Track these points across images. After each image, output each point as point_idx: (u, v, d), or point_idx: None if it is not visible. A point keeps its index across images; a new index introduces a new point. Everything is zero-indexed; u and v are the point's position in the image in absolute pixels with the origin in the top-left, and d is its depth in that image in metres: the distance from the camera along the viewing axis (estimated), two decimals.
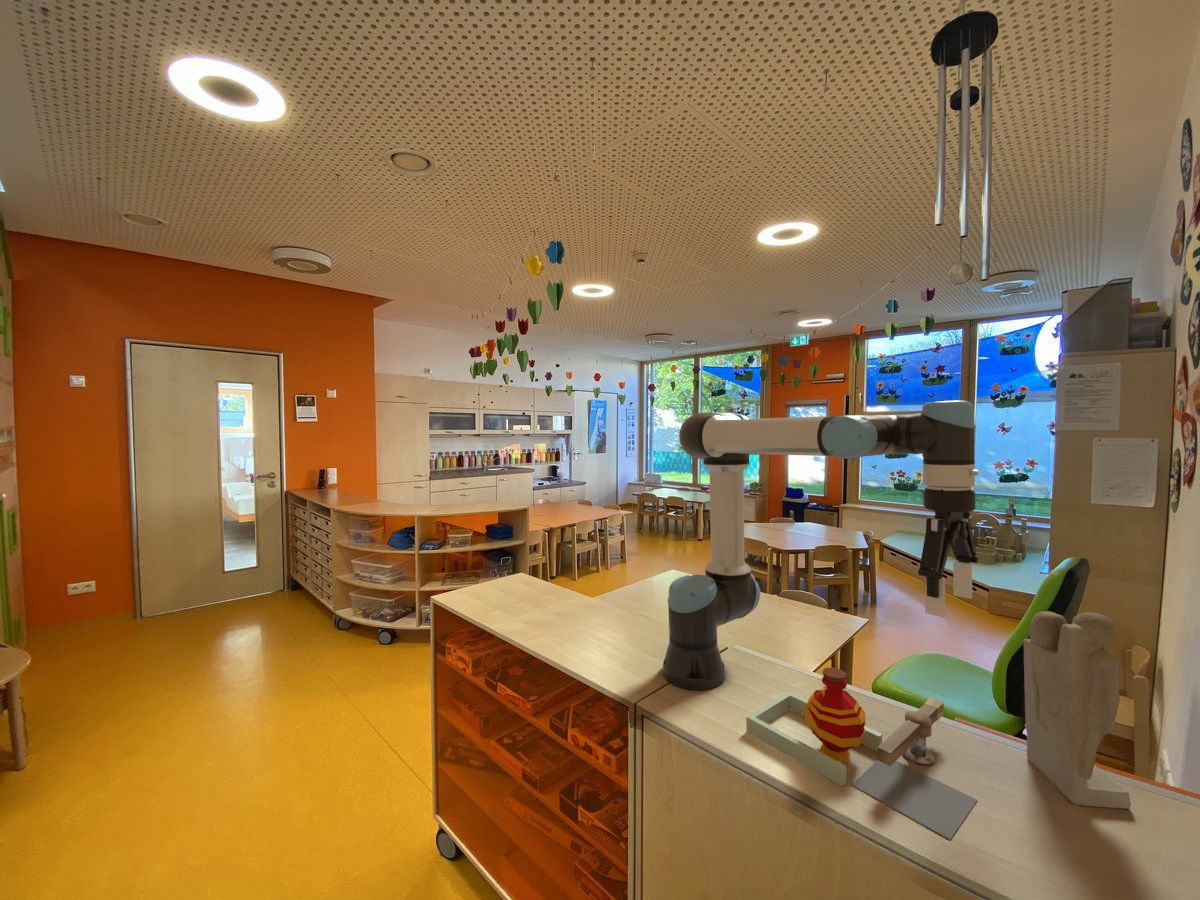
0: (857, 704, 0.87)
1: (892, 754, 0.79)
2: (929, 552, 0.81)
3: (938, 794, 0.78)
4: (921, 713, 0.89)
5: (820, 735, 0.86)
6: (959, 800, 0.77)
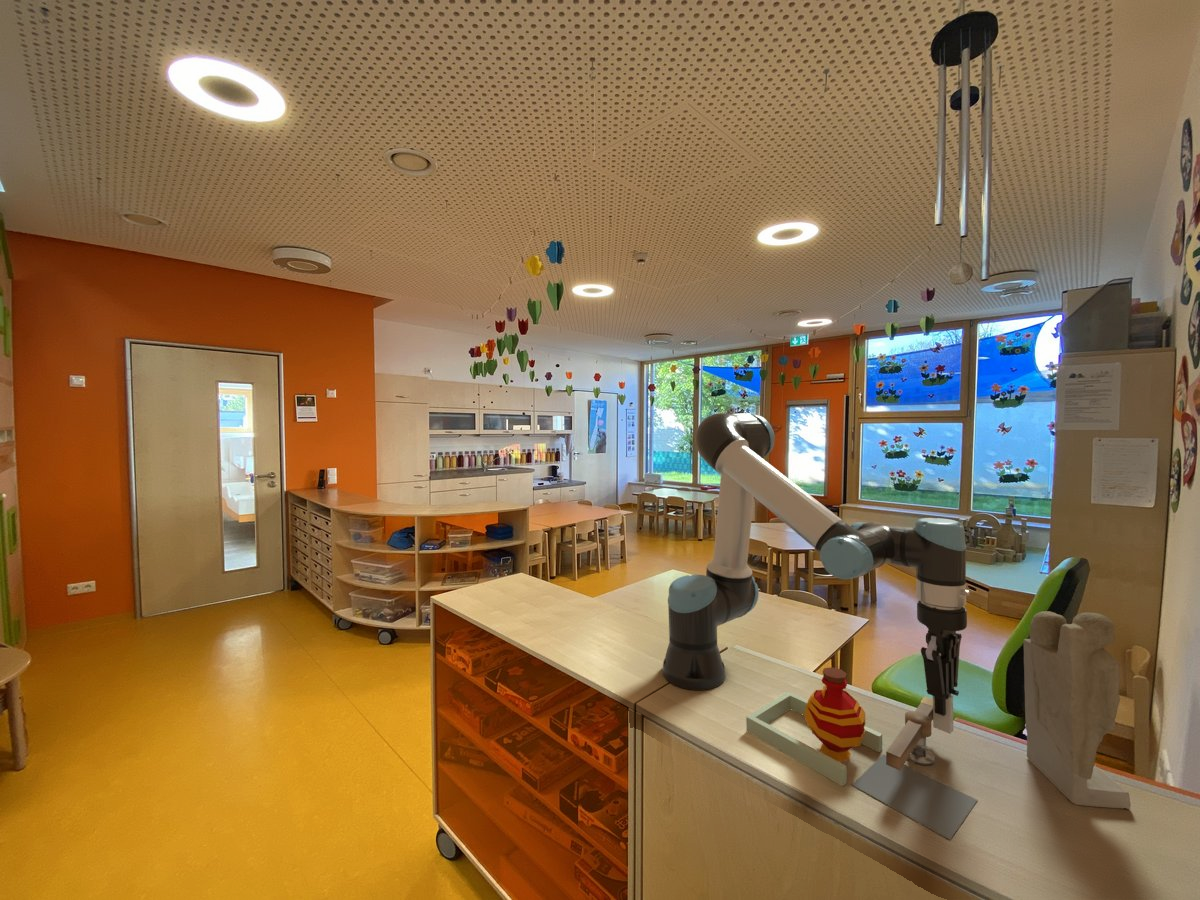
0: (857, 704, 0.87)
1: (901, 758, 0.78)
2: (932, 678, 0.87)
3: (938, 794, 0.78)
4: (920, 713, 0.89)
5: (820, 735, 0.86)
6: (959, 800, 0.77)
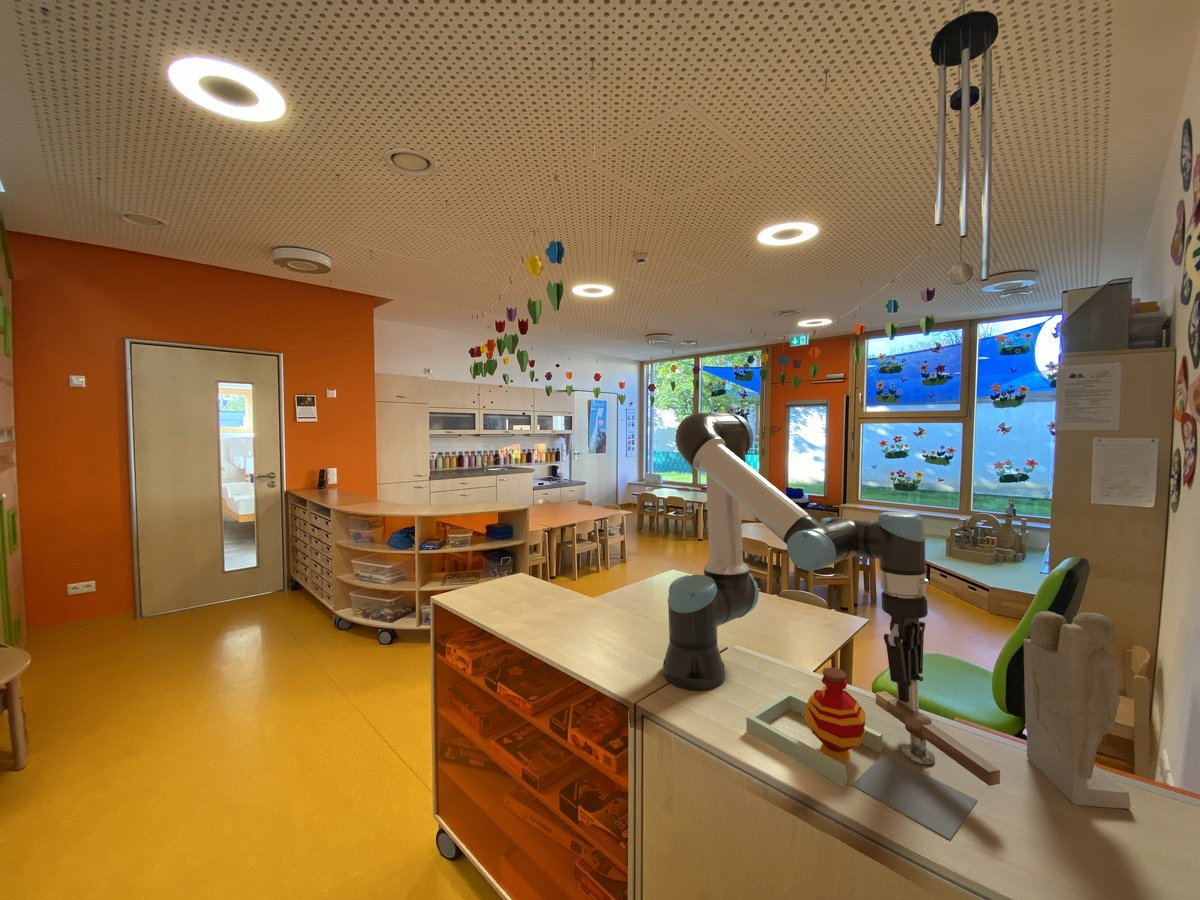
0: (857, 704, 0.87)
1: None
2: (894, 665, 0.90)
3: (938, 794, 0.78)
4: (908, 711, 0.89)
5: (820, 735, 0.86)
6: (959, 800, 0.77)
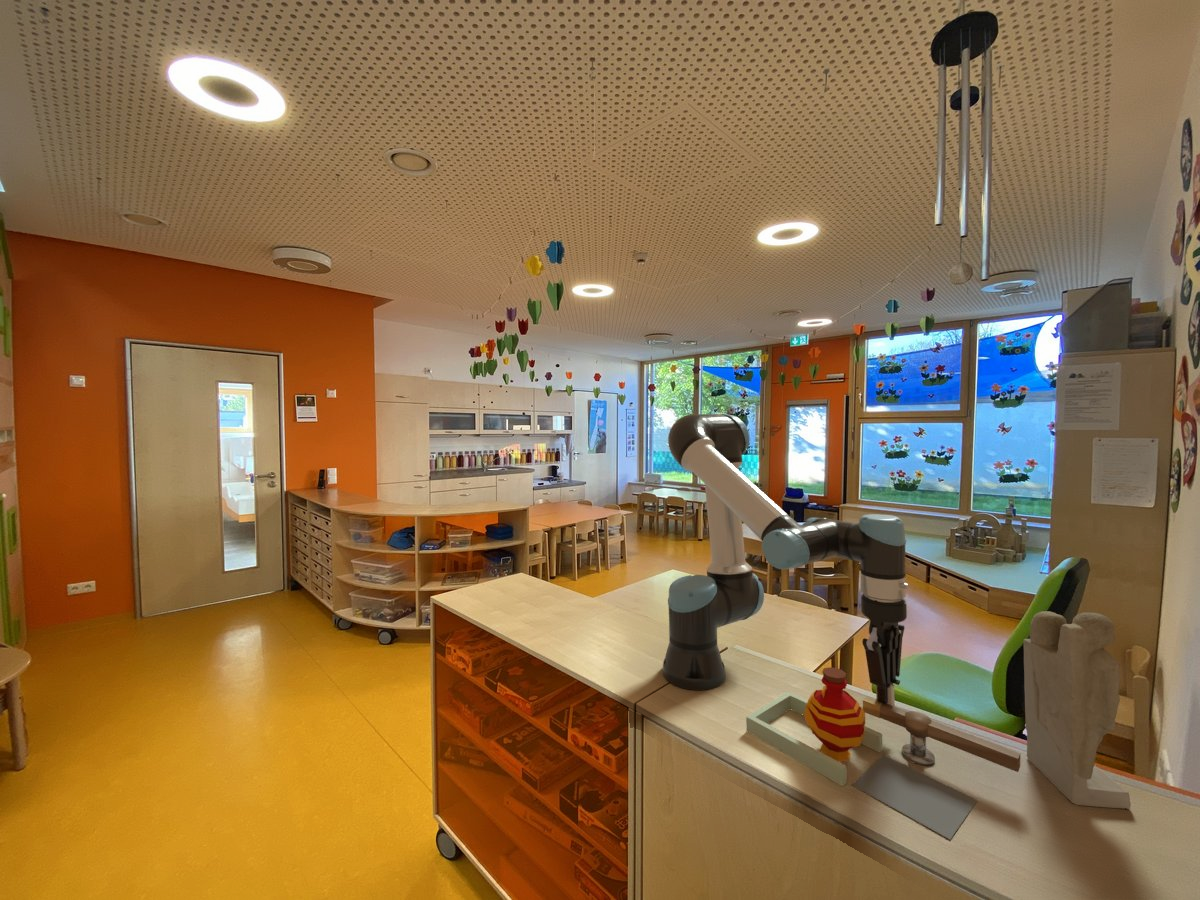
0: (857, 704, 0.87)
1: None
2: (873, 668, 0.90)
3: (938, 794, 0.78)
4: (906, 713, 0.89)
5: (820, 735, 0.86)
6: (959, 800, 0.77)
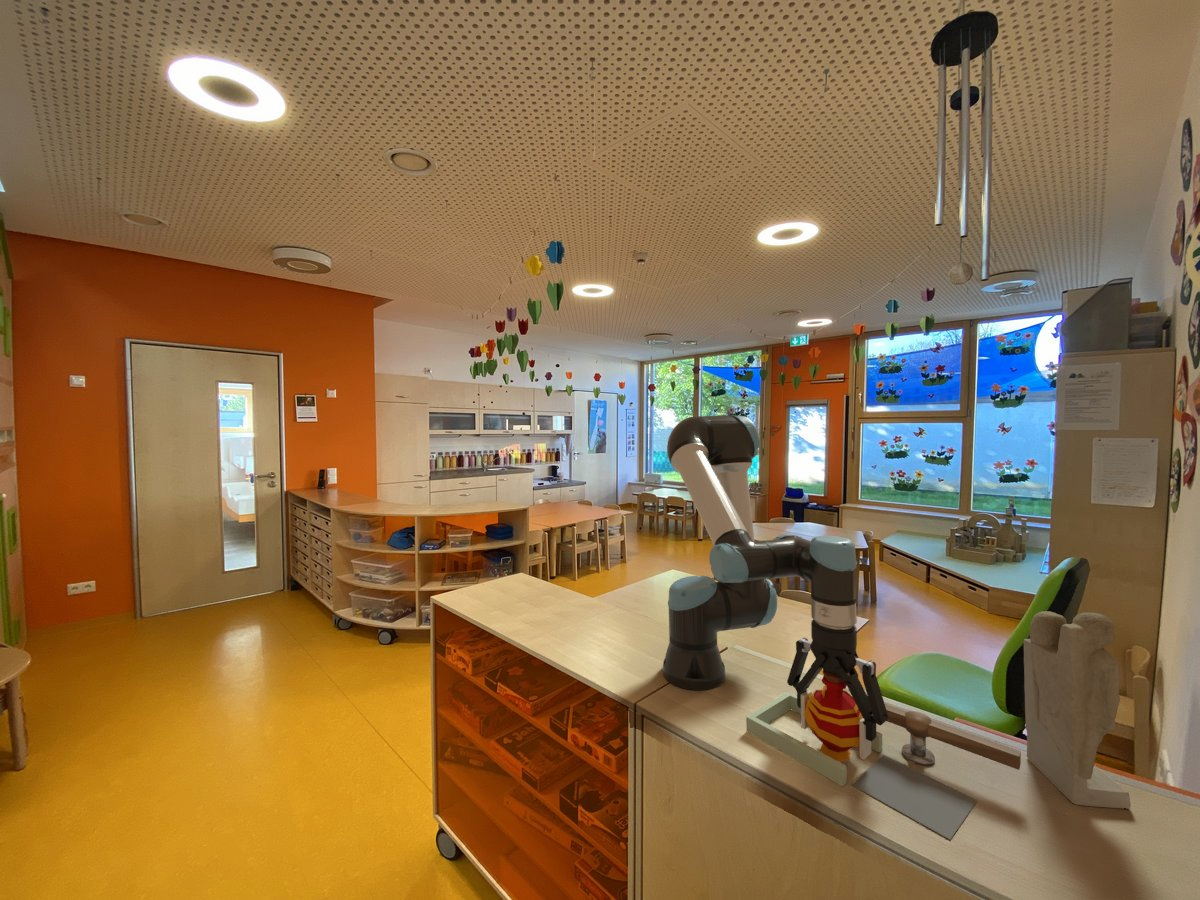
0: None
1: None
2: None
3: (938, 794, 0.78)
4: (905, 713, 0.89)
5: (820, 735, 0.86)
6: (959, 800, 0.77)
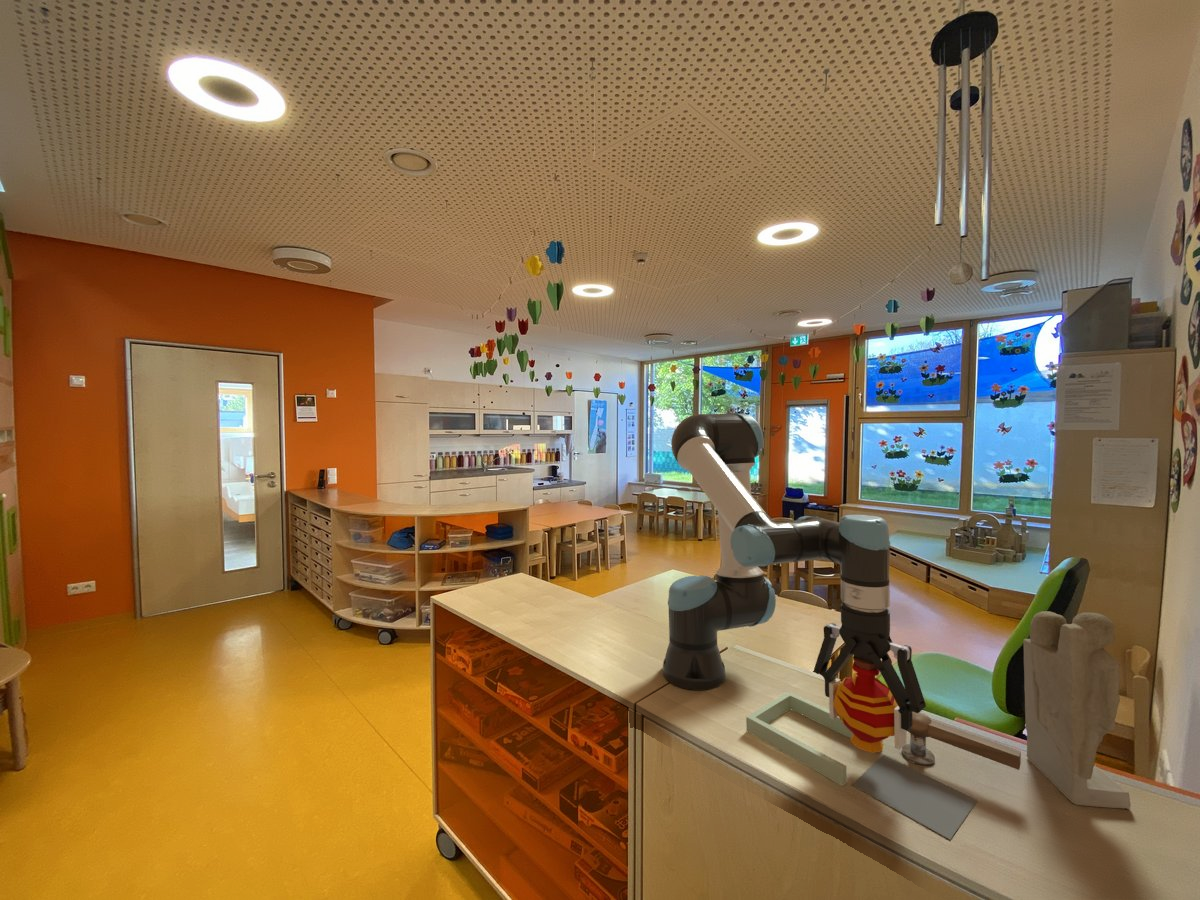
0: (890, 692, 0.83)
1: None
2: None
3: (938, 794, 0.78)
4: None
5: (852, 725, 0.81)
6: (959, 800, 0.77)
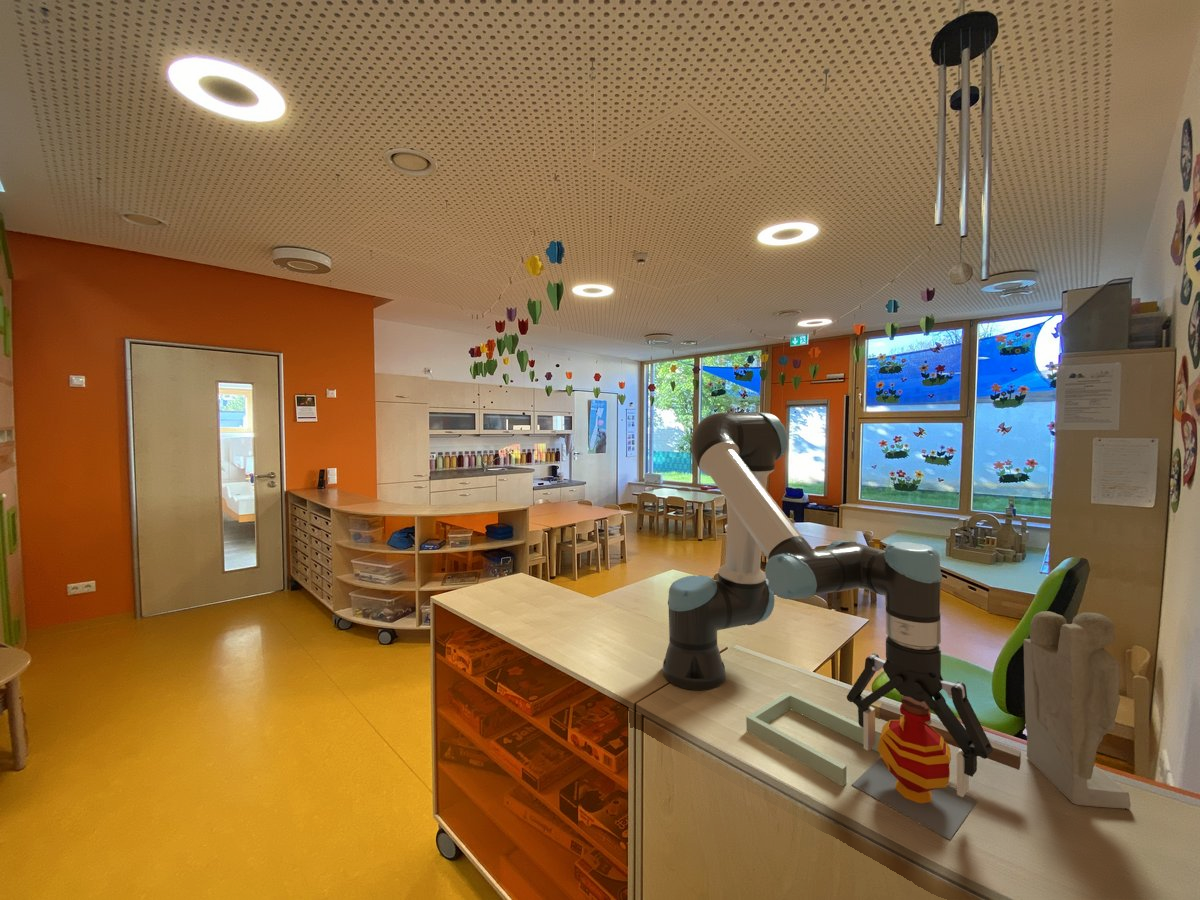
0: (942, 739, 0.77)
1: None
2: None
3: (938, 794, 0.78)
4: None
5: (900, 774, 0.76)
6: (959, 800, 0.77)
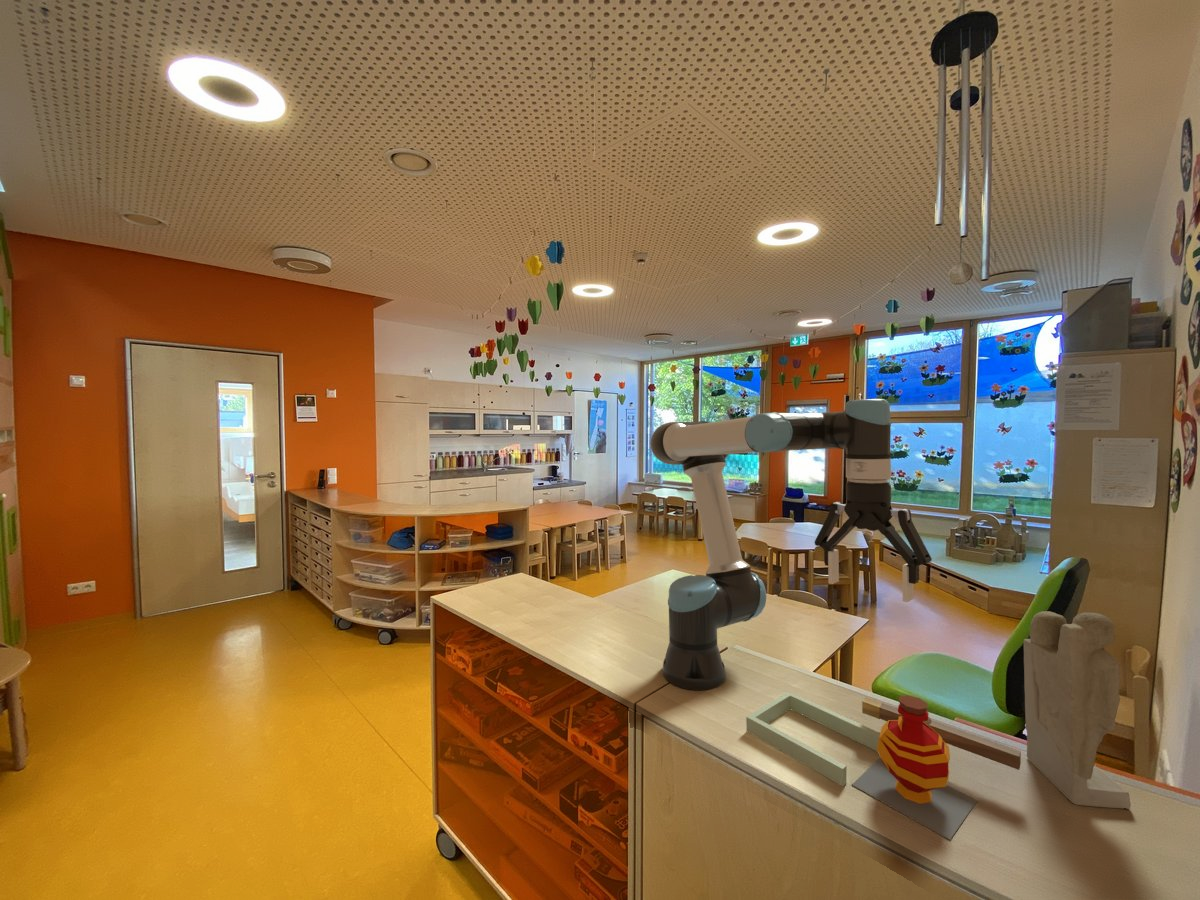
0: (940, 738, 0.77)
1: None
2: None
3: (938, 794, 0.78)
4: None
5: (899, 774, 0.76)
6: (959, 800, 0.77)
